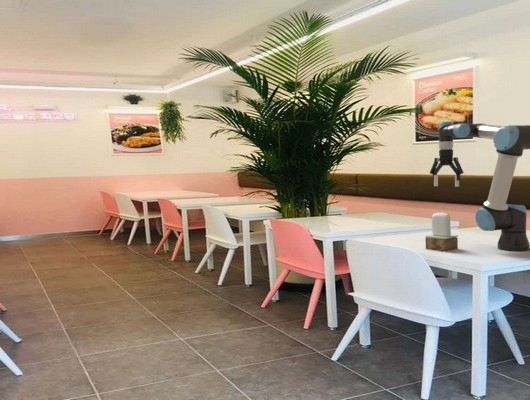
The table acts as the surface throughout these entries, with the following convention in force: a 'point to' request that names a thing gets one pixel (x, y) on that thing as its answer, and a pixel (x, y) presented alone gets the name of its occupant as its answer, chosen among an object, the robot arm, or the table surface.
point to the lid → (441, 236)
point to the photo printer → (441, 224)
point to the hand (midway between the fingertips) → (446, 186)
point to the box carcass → (442, 244)
